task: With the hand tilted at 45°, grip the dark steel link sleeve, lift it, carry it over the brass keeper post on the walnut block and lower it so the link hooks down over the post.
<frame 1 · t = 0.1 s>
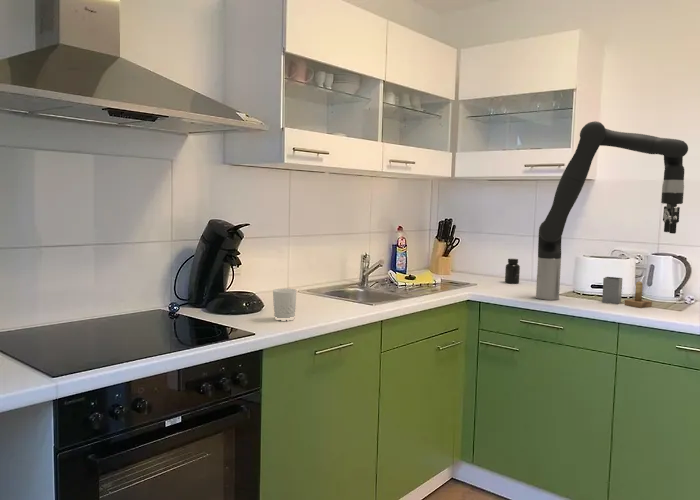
hand: (669, 232, 233), 29 cm above the countertop, tool pointing down, fingers open, 8 cm apart
supplement bottle: (512, 283, 291), on the countertop
white cup: (284, 320, 200), on the countertop
link sleeve: (611, 302, 241), on the countertop
keeper post: (637, 305, 234), on the countertop
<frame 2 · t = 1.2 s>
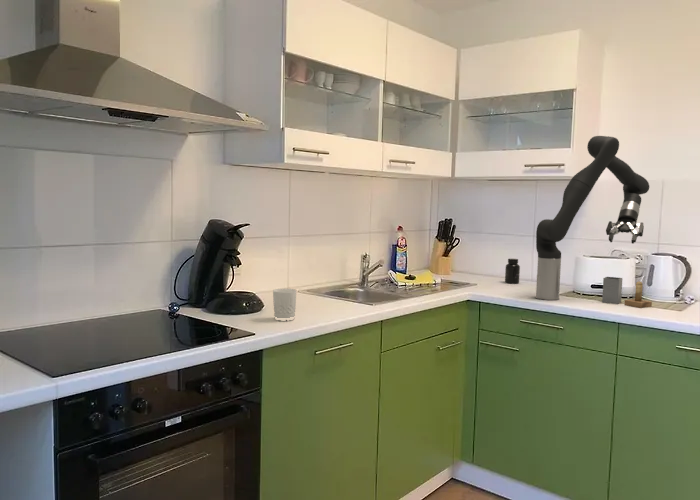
hand: (621, 241, 248), 24 cm above the countertop, tool tilted 45°, fingers open, 8 cm apart
nothing on the countertop moved.
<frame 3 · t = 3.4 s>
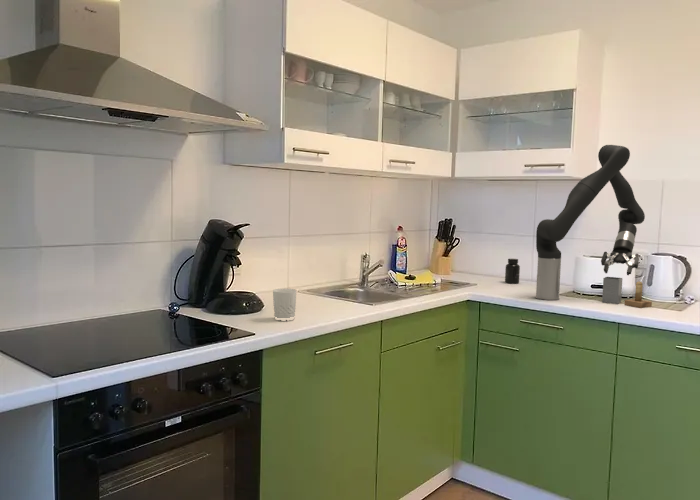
hand: (616, 273, 246), 11 cm above the countertop, tool tilted 45°, fingers open, 8 cm apart
nothing on the countertop moved.
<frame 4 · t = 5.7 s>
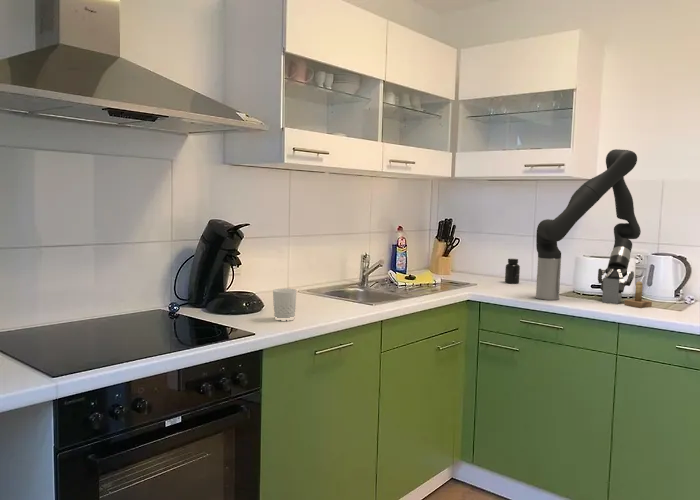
hand: (611, 291, 240), 5 cm above the countertop, tool tilted 45°, fingers closed on link sleeve, 6 cm apart
link sleeve: (611, 302, 241), on the countertop, touching gripper
everything else where it was.
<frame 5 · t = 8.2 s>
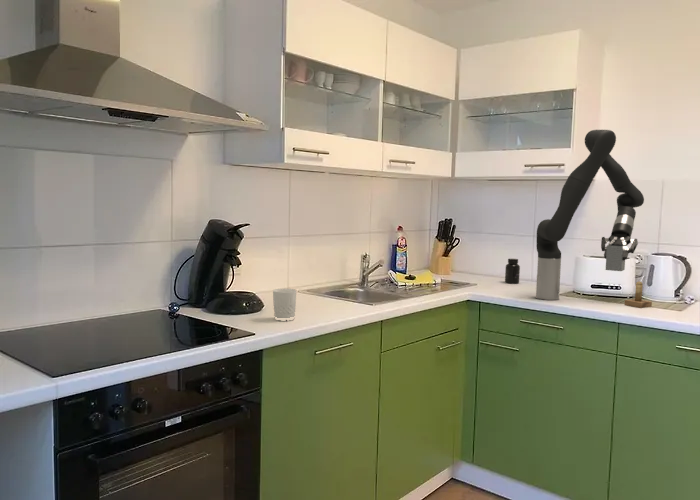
hand: (614, 258, 238), 18 cm above the countertop, tool tilted 45°, fingers closed on link sleeve, 6 cm apart
link sleeve: (615, 269, 240), point 13 cm above the countertop, touching gripper
everything else where it was.
when the fingers open (12 cm above the countertop, at t = 11.0 s): link sleeve drops 5 cm, resting on keeper post.
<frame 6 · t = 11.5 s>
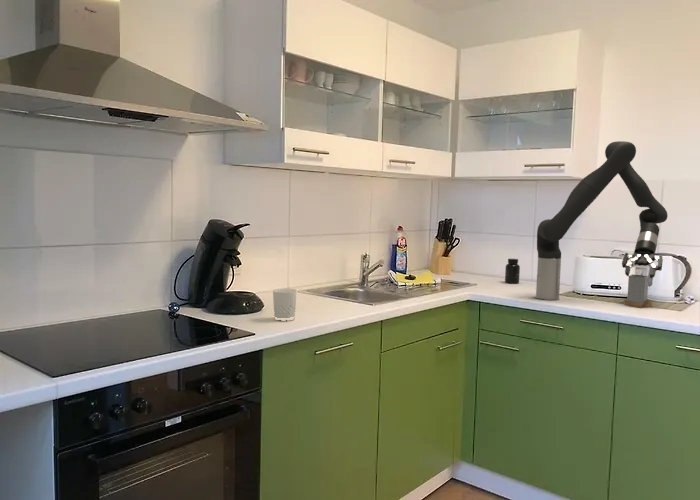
hand: (639, 275, 232), 12 cm above the countertop, tool tilted 45°, fingers open, 8 cm apart
link sleeve: (637, 300, 234), point 2 cm above the countertop, touching keeper post
everything else where it was.
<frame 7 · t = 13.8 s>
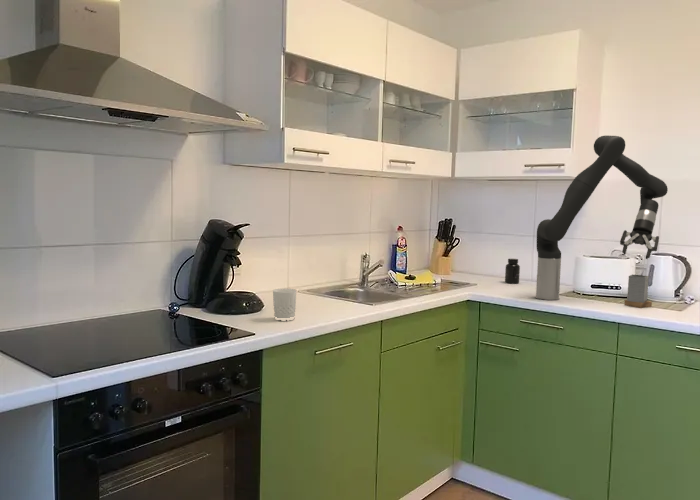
hand: (635, 256, 245), 19 cm above the countertop, tool tilted 35°, fingers open, 8 cm apart
nothing on the countertop moved.
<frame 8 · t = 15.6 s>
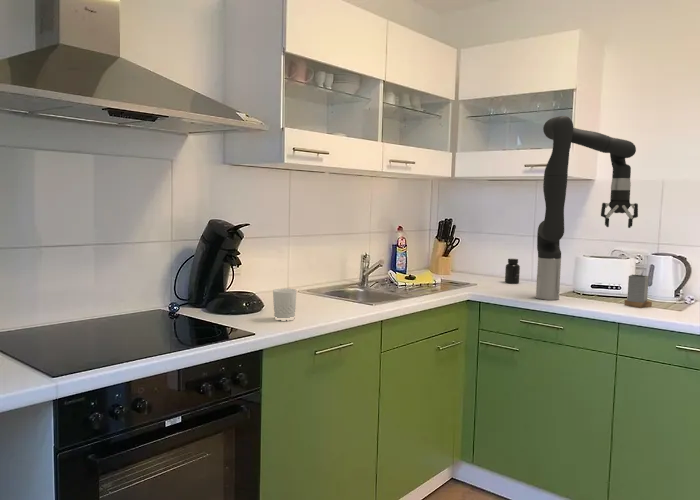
hand: (618, 227, 251), 30 cm above the countertop, tool pointing down, fingers open, 8 cm apart
nothing on the countertop moved.
at the end: link sleeve 0.5 cm from the keeper post (horizontally); link sleeve point 2.0 cm above the countertop; link sleeve tilted 0° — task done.
